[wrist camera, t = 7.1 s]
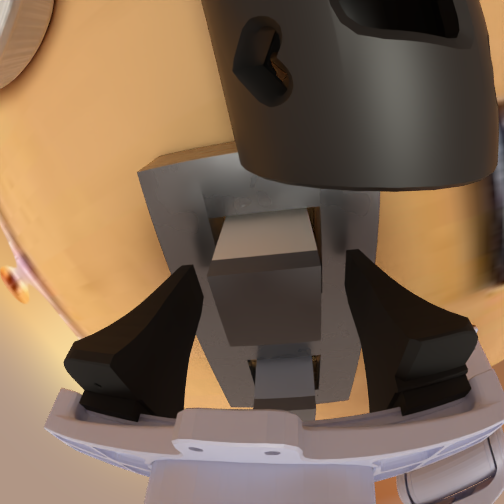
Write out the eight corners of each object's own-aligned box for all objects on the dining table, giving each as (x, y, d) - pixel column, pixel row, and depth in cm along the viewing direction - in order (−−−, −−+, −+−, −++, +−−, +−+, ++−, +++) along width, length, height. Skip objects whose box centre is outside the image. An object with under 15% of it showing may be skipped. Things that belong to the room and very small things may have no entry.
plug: (302, 192, 15) (320, 265, 9) (306, 252, 17) (320, 340, 11) (231, 200, 16) (206, 276, 10) (243, 258, 18) (229, 346, 12)
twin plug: (309, 329, 21) (315, 408, 15) (309, 358, 23) (314, 429, 17) (258, 333, 22) (253, 411, 16) (264, 361, 24) (261, 431, 18)
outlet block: (360, 130, 13) (380, 141, 10) (344, 374, 25) (348, 399, 22) (159, 156, 14) (137, 172, 12) (234, 381, 26) (231, 407, 24)
